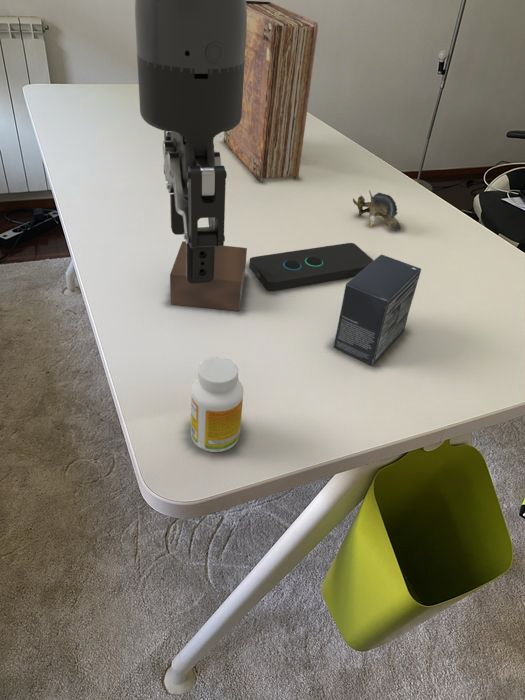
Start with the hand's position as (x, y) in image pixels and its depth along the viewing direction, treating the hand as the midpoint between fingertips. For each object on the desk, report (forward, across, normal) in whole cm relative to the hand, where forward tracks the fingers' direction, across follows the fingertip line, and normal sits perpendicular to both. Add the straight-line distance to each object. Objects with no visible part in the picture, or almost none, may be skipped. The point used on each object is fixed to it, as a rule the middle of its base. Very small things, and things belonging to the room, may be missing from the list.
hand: (191, 255), depth 49 cm
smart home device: (+22, -30, +26) cm, 45 cm away
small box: (+22, -11, +27) cm, 36 cm away
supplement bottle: (+22, +2, +2) cm, 22 cm away
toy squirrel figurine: (+22, -46, +44) cm, 67 cm away
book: (+22, -79, +30) cm, 87 cm away
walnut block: (+21, -27, +8) cm, 35 cm away
